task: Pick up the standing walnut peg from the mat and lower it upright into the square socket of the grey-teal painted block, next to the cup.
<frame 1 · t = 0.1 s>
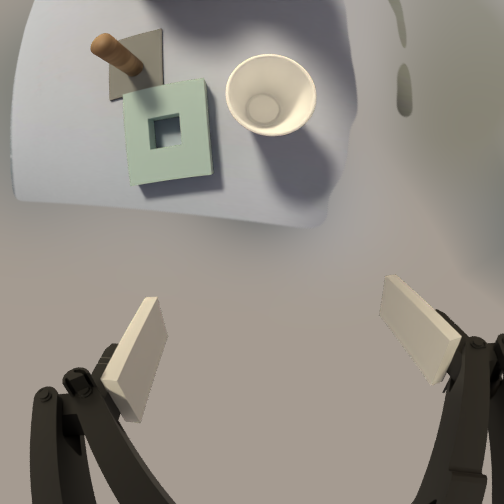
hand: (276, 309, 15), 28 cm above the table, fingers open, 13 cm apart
mat: (135, 63, 32), on the table
cup: (263, 109, 36), on the table
socket block: (169, 132, 37), on the table
peg: (134, 68, 32), resting on mat
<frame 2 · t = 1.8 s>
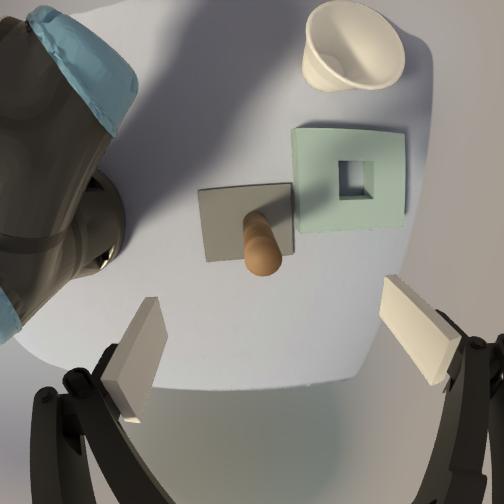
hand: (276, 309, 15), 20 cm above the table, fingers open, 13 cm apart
mat: (246, 223, 34), on the table
cup: (324, 71, 28), on the table
socket block: (347, 177, 32), on the table
peg: (255, 223, 33), resting on mat
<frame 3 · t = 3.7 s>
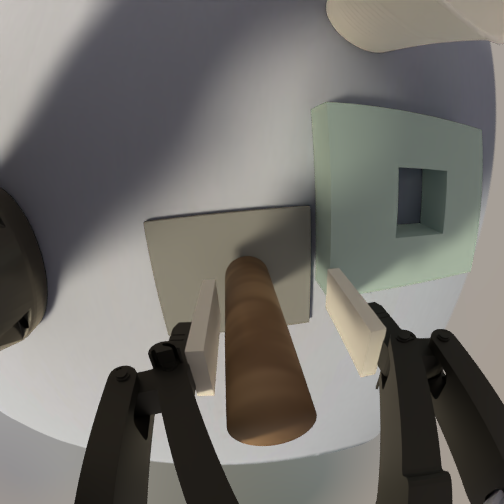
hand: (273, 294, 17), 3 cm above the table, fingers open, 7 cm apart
mat: (232, 275, 19), on the table
cup: (361, 21, 14), on the table
socket block: (400, 195, 18), on the table
peg: (247, 276, 19), resting on mat
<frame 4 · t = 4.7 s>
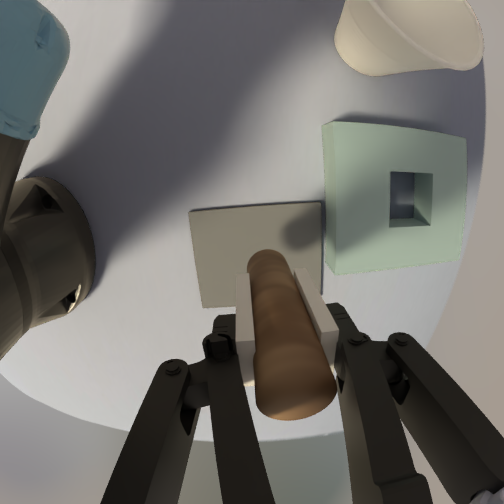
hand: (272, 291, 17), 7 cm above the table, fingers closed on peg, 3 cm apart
mat: (258, 257, 24), on the table
cup: (363, 49, 18), on the table
socket block: (395, 194, 22), on the table
peg: (267, 268, 20), point 4 cm above the table, touching gripper
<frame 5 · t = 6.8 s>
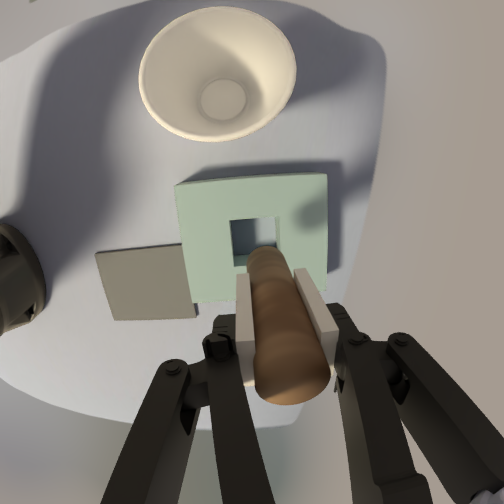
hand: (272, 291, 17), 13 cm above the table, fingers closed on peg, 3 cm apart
mat: (144, 285, 30), on the table
cup: (223, 100, 24), on the table
socket block: (253, 233, 29), on the table
peg: (266, 264, 21), point 8 cm above the table, touching gripper
when the fingers open (4 cm above the table, at t = 9.1 s): peg stays where it is, resting in socket block.
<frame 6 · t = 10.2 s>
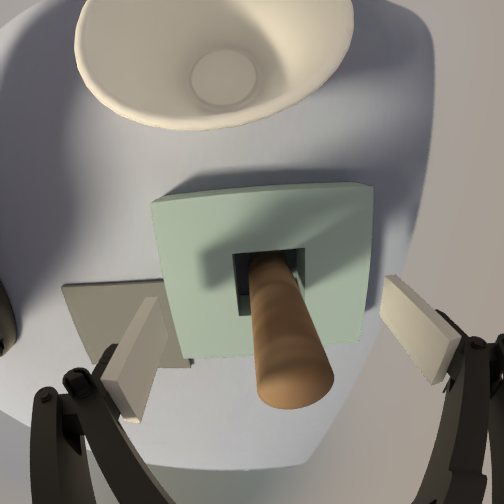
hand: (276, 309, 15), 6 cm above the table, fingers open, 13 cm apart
mat: (124, 327, 22), on the table
cup: (223, 78, 16), on the table
socket block: (266, 266, 21), on the table
peg: (267, 266, 21), resting in socket block
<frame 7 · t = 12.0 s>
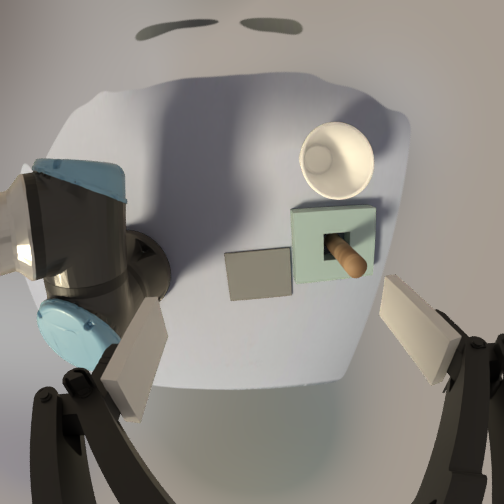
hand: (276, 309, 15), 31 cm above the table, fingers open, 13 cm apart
mat: (259, 274, 48), on the table
cup: (317, 159, 42), on the table
socket block: (331, 240, 46), on the table
peg: (332, 241, 46), resting in socket block
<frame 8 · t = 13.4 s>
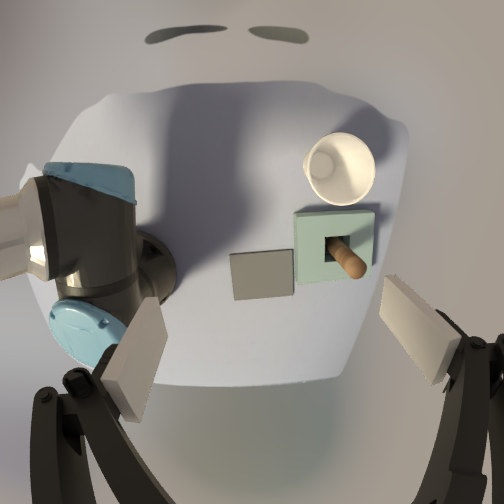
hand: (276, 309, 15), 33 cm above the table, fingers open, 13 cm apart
mat: (262, 275, 50), on the table
cup: (319, 165, 44), on the table
socket block: (332, 243, 49), on the table
peg: (332, 243, 49), resting in socket block
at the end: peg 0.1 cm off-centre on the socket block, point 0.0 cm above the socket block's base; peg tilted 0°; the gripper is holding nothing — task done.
